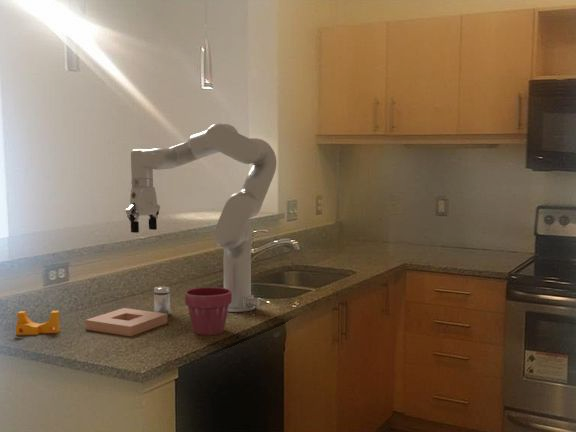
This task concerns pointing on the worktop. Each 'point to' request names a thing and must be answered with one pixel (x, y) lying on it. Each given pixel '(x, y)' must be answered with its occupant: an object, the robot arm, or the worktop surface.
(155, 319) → the pink square holed slab
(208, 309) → the plant pot
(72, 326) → the worktop surface
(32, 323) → the pipe clamp
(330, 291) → the worktop surface
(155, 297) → the piston
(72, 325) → the worktop surface
